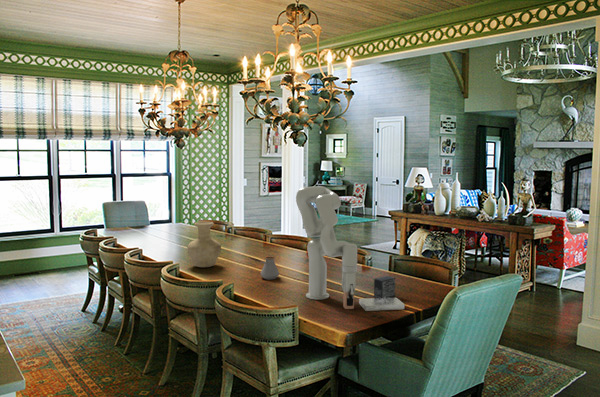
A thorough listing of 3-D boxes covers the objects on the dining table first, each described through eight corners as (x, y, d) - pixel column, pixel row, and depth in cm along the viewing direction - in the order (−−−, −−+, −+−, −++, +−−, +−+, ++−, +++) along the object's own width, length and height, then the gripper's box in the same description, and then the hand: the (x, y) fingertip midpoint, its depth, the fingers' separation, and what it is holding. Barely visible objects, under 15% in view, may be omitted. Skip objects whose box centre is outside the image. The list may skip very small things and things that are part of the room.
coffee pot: (271, 274, 312) (271, 251, 311) (282, 278, 303) (283, 254, 302) (243, 280, 298) (243, 256, 297) (254, 284, 290) (254, 259, 288)
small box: (386, 293, 272) (386, 275, 271) (395, 296, 267) (395, 277, 266) (373, 297, 265) (373, 278, 264) (382, 300, 260) (382, 280, 259)
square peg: (343, 306, 249) (343, 288, 248) (351, 305, 249) (351, 288, 248) (345, 308, 244) (345, 291, 243) (353, 308, 245) (354, 291, 244)
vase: (221, 269, 324) (220, 225, 321) (186, 270, 321) (185, 225, 318) (221, 262, 346) (220, 220, 343) (188, 263, 343) (188, 220, 340)
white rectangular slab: (359, 303, 254) (359, 298, 253) (396, 302, 257) (396, 297, 257) (365, 310, 242) (365, 305, 242) (404, 309, 245) (404, 304, 245)
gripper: (338, 264, 253) (337, 299, 254) (346, 272, 236) (345, 309, 238) (352, 264, 254) (351, 298, 256) (361, 272, 237) (360, 309, 239)
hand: (348, 303), depth 247 cm, fingers closed on square peg, 4 cm apart
